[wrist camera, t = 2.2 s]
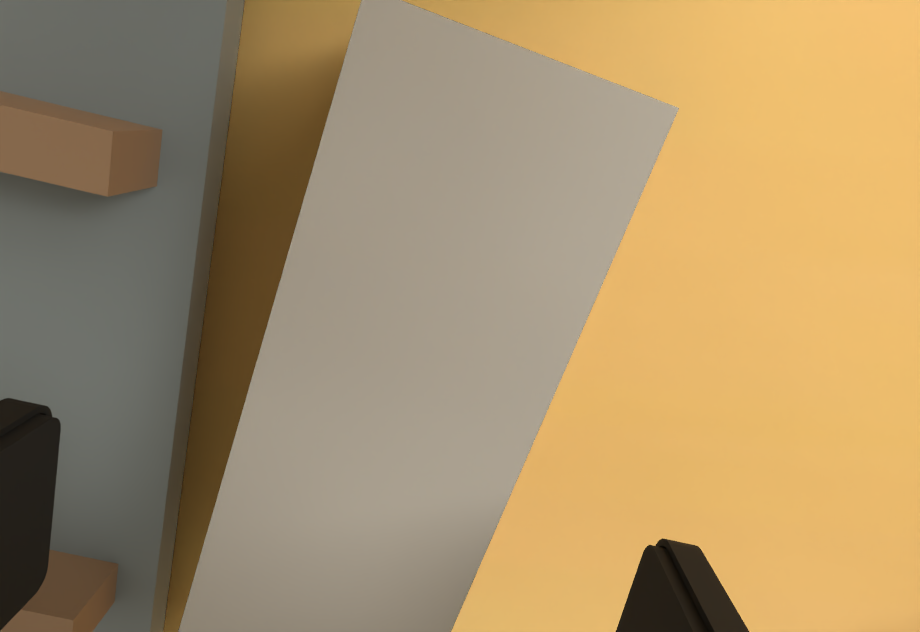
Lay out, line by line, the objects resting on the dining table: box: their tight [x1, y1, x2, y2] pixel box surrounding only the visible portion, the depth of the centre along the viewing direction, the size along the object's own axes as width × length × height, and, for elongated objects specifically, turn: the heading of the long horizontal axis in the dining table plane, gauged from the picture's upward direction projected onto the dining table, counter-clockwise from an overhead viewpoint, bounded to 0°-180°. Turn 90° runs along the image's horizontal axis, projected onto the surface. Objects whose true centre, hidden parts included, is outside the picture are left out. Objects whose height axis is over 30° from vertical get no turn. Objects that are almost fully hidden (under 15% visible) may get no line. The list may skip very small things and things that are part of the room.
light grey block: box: [178, 0, 679, 632], centre depth 14 cm, size 14×5×5 cm, turn 160°
